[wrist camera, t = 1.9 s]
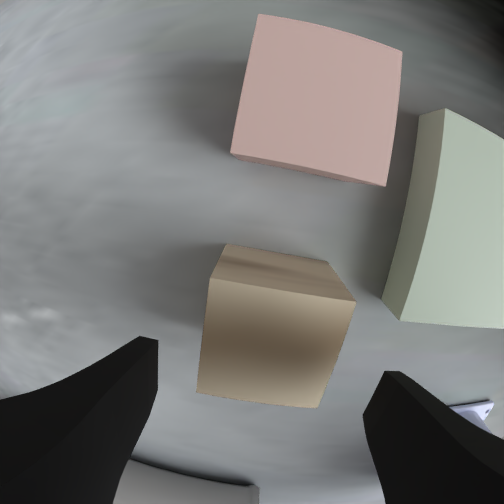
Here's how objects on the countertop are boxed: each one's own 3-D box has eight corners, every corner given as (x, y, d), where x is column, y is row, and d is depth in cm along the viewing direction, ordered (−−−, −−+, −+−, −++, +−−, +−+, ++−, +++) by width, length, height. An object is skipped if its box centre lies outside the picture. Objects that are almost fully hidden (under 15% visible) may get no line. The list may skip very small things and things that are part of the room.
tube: (2, 447, 16) (243, 536, 17) (-23, 426, 14) (255, 536, 14) (20, 410, 21) (249, 489, 21) (-1, 385, 18) (262, 479, 19)
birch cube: (303, 346, 16) (317, 408, 11) (212, 332, 16) (196, 392, 11) (327, 261, 15) (356, 302, 10) (226, 243, 15) (210, 277, 10)
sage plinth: (491, 310, 16) (516, 329, 13) (378, 296, 15) (399, 320, 13) (525, 171, 13) (555, 175, 10) (415, 116, 13) (445, 108, 10)
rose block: (344, 181, 14) (385, 186, 9) (240, 160, 14) (229, 152, 9) (359, 85, 12) (402, 51, 8) (258, 62, 12) (258, 13, 7)
